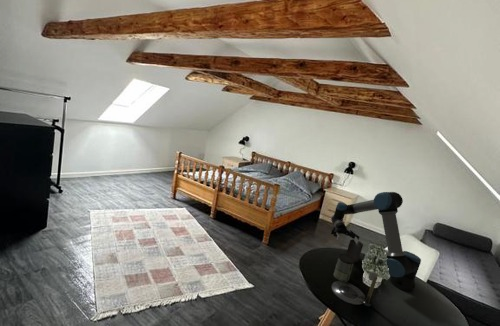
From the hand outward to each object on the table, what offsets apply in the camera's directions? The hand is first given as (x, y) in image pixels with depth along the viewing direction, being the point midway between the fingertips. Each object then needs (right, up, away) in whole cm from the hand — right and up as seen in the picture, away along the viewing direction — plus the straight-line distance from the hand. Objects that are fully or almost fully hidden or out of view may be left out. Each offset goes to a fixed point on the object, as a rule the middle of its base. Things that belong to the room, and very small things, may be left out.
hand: (348, 240), depth 193 cm
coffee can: (-7, -22, -6) cm, 24 cm away
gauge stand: (+1, -29, -29) cm, 41 cm away
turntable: (-8, -26, -22) cm, 35 cm away
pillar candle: (+10, -20, +21) cm, 30 cm away
